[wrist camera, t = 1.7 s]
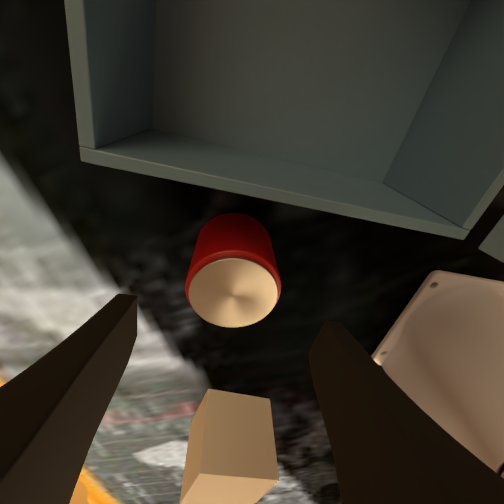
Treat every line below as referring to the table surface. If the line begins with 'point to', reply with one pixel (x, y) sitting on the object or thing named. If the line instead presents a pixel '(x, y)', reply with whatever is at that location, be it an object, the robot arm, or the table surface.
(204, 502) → the tan cube
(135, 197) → the table surface
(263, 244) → the can
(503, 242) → the carton flap
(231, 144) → the carton
